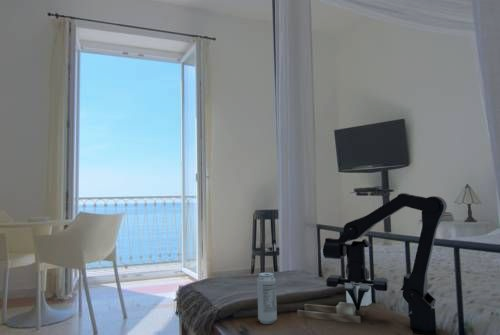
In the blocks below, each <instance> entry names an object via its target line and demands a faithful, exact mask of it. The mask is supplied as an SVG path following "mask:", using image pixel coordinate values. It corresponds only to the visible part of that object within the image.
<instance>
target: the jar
mask: <svg viewBox="0 0 500 335" xmlns="http://www.w3.org/2000/svg"><path fill="white" fill-rule="evenodd" d="M347 278H348V275H347V274H346V277H345V279H347ZM366 280H371V278H370V270H368V279H366ZM355 286H356V292H357V299H358V290H359V288H360V287H359V286H357V285H355ZM345 292H346V293H345V295H346V296H345V297H346V303H353V301H352V298H351V297H350V295H349V293H348V291H345ZM371 304H372V287H371V286H370V289H369V291H368V292H365V294H364V296H363V299H362V303H361V306H362V307H363V306H366V307H367V306H369V305H371Z"/></svg>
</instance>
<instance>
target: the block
mask: <svg viewBox="0 0 500 335" xmlns="http://www.w3.org/2000/svg"><path fill="white" fill-rule="evenodd" d="M336 307H337V313H336V314H343V315H353V316H357V315H356V313H355V305H354V303H347V301H346V302H345V301H344V302H343V301H339V302H338V304H337V305H336Z"/></svg>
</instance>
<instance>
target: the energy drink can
mask: <svg viewBox="0 0 500 335" xmlns="http://www.w3.org/2000/svg"><path fill="white" fill-rule="evenodd" d="M274 275H275V274H274V273H273V272H259V274H258V277H257V279H256V284H257V286H256V287H257V288H256V289H257V290H256V291H257V320H258V321H259V323H261V324H264V325H272V324H275V322H276V320H277V319H278V313H277V306H278V305H277V280H276V277H275V276H274Z"/></svg>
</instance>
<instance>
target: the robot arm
mask: <svg viewBox="0 0 500 335" xmlns="http://www.w3.org/2000/svg"><path fill="white" fill-rule="evenodd" d="M447 207H448V205H447V202H446V200H445V199H443V198H442V197H440V196H435V195H434V196H433V195H432V196H428V197H424V196H421V195H420V196H419V195H414V194H409V193H407V192H403V193H402V192H401V193H398V195H397V196H396V197H394V198H392V199H391V200H389V201H387V202H385V203H384V204H382V205H381V206H379V207H378V208H376V209H375V210H373V211H372V212H370V213H368V214H367V215H364V216H361V217H360V218H356V219H354V220H352V221H348V222H347V223H345V224H344V225H343V230H342V231H343V232H342V233H341V235H340V236H339V238H333V237H326V238H325V239H324V244H323V247H322V255H323V257H324V258H325V259H331V260H343V259H344V257H346V265H345V274H346V276H347V275H348V278H347V277H346V278H347V279H346V278H343V277H342V275H339V274H338V275H337V274H331V275H329V276H328V277H327V278H326V279H325V280H326V282H325V285H326V287H329V288H337V287H338V286H339V285H343V286H344V291H345V292H346V291H348V293H349V295H350V297H351V298H352V301H353V303H354V305H355V308H356V310H360V309H361V303H362V299H363V296H364V294H365V292H368V291H369V289H370V286H371V288H372V287H373V289H374V290H375V291H381V292H387V291H388V289H389V288H390V286H389V279H387V278H386V277H385V278H384V277H374V279H373V280H371V279H370V280H366V279H368V271H369V270H368V268H367V267H366V251H365V249H366V248H369V247H371V246H372V244H371V243H370V242H369V241H368V240H367V238H364V239H362V240H359V239H361V238H363V237H364V236H366V235H367V233H369V232H370V231H372V229H374V227H375V226H376V225H378V224H379V223H381V222H382V221H384V220H386V219H387V218H389V217H390V216H392V215H394V214H396V213H397V212H399V211H400V210H402V209H405V208H410V209H413V210H417V211H421V231H420V234H419V240H418V244H417V249H416V252H415V258H414V261H413V262H414V263H413V266H412V271H411V273H407V274H405V275H404V276H403V280H402V284H403V285H402V287H401V288H400V291H402V298H403V299H404V301H405V302H406V303H407V304H408V305H409V307H410V310H411V311H410V312H409V325H410V326H409V327H410V329H411V331H412V333H415V334H422V335H438V330H437V329H438V328H437V321H436V317H437V316H436V308H435V305H436V301H437V300H436V298H435V297H433V295H431V294H430V293H429V292H428V285H429V283H428V271H429V266H430V261H431V258H432V254H433V249H434V243H435V240H436V235H437V231H438V228H439V226H440V224H441V222H442V220H443V218H444V215H445V213H446V211H447ZM351 241H352V242H351ZM348 242H351V243H348ZM355 285H357V286H359V287H360V288H359V290H358V299H357V292H356V286H355Z"/></svg>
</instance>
